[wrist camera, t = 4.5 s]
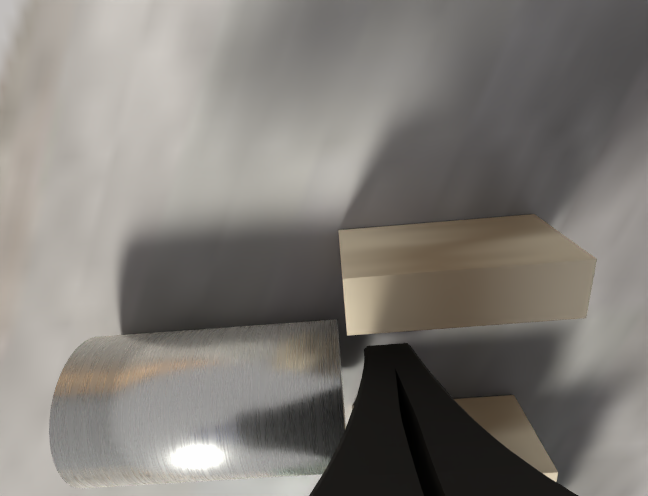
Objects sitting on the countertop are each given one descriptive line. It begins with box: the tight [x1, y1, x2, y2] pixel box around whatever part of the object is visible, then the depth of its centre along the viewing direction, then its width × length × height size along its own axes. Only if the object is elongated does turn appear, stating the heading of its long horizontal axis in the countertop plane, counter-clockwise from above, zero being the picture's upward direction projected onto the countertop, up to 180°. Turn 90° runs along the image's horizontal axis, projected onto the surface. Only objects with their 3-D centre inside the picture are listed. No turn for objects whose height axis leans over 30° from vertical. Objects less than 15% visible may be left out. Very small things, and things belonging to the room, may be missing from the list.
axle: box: [49, 320, 346, 489], centre depth 12 cm, size 7×4×4 cm, turn 95°
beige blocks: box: [338, 214, 597, 482], centre depth 12 cm, size 6×8×3 cm
